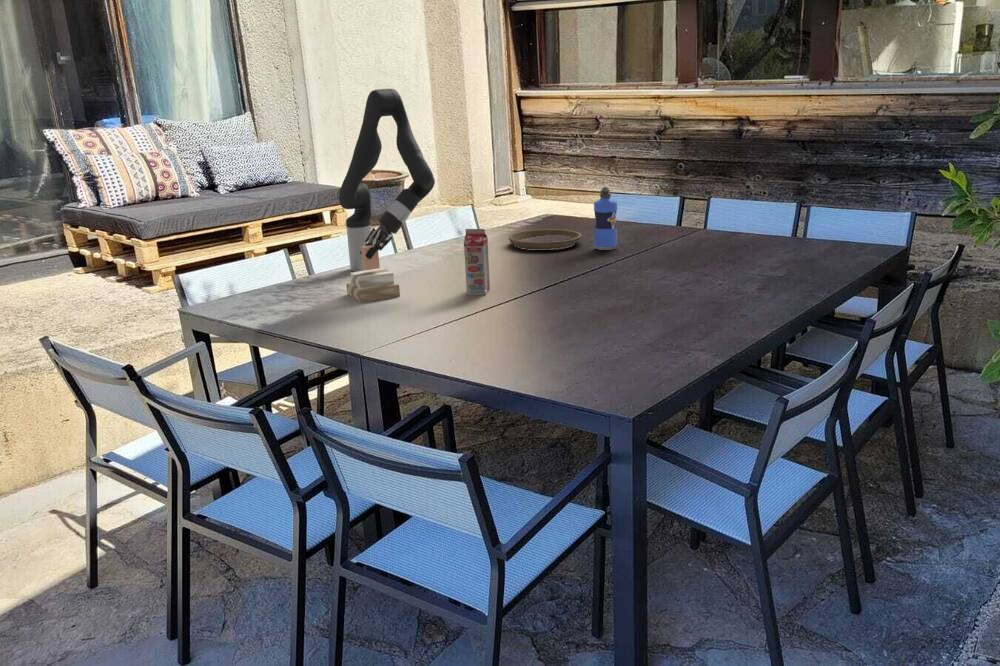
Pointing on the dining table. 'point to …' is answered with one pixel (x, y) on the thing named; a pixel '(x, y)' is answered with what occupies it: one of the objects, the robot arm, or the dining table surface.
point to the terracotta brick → (369, 263)
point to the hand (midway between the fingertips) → (364, 256)
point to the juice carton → (476, 262)
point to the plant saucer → (543, 245)
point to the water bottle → (605, 220)
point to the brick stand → (372, 285)
